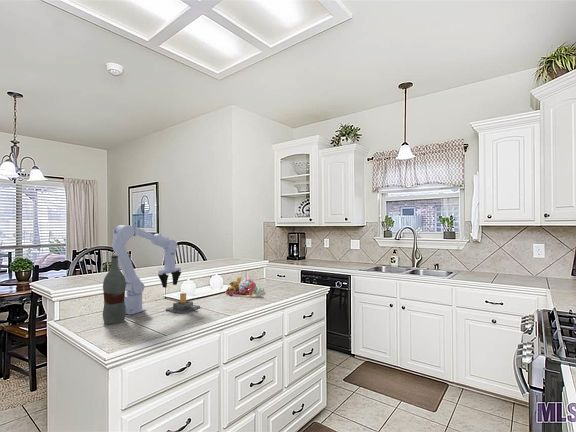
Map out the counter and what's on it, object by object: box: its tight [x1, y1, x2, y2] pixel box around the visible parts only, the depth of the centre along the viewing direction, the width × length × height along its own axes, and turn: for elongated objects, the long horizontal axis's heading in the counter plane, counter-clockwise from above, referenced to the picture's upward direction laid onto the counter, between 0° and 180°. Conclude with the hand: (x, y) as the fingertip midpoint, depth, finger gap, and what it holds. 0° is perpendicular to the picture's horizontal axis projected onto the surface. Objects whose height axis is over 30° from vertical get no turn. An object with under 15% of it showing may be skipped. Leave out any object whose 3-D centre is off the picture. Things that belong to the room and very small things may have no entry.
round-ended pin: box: [179, 292, 187, 304], centre depth 170 cm, size 3×3×7 cm
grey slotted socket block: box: [165, 300, 201, 315], centre depth 170 cm, size 12×14×4 cm
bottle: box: [102, 255, 127, 326], centre depth 150 cm, size 9×9×30 cm
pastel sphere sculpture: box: [225, 276, 266, 298], centre depth 209 cm, size 25×24×9 cm
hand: (169, 286), depth 181 cm, fingers open, 7 cm apart
